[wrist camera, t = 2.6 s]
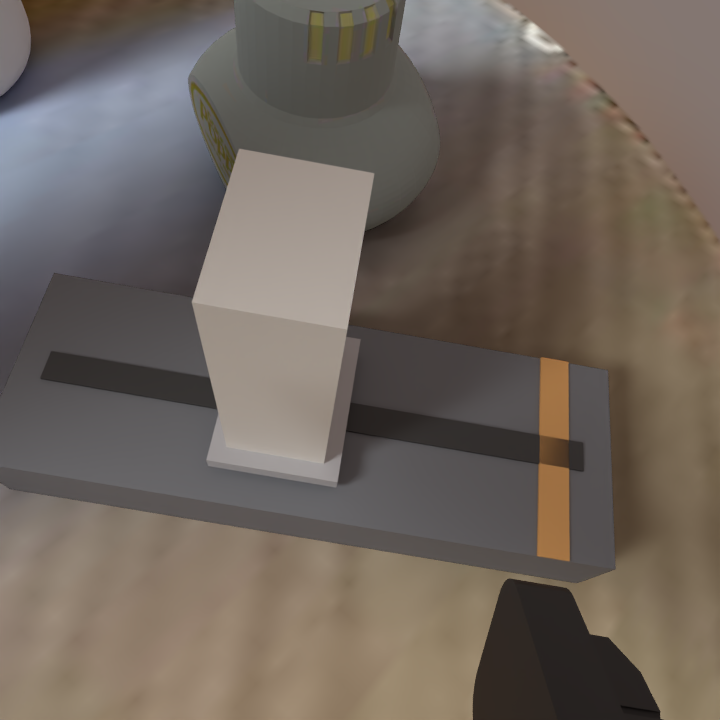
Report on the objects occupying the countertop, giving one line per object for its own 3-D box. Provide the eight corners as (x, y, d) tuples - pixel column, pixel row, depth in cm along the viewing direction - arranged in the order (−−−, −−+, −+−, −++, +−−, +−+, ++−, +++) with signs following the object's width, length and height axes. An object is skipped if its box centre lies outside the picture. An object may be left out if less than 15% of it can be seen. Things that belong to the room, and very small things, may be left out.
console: (9, 488, 22) (-30, 460, 20) (78, 316, 26) (53, 271, 23) (577, 582, 23) (616, 568, 20) (575, 402, 26) (609, 368, 23)
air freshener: (183, 114, 31) (143, -116, 22) (339, 73, 33) (360, -150, 24) (274, 294, 27) (270, 103, 18) (445, 234, 29) (514, 38, 21)
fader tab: (208, 466, 20) (158, 320, 12) (244, 327, 22) (221, 127, 14) (336, 487, 20) (369, 356, 12) (358, 347, 23) (399, 160, 15)
